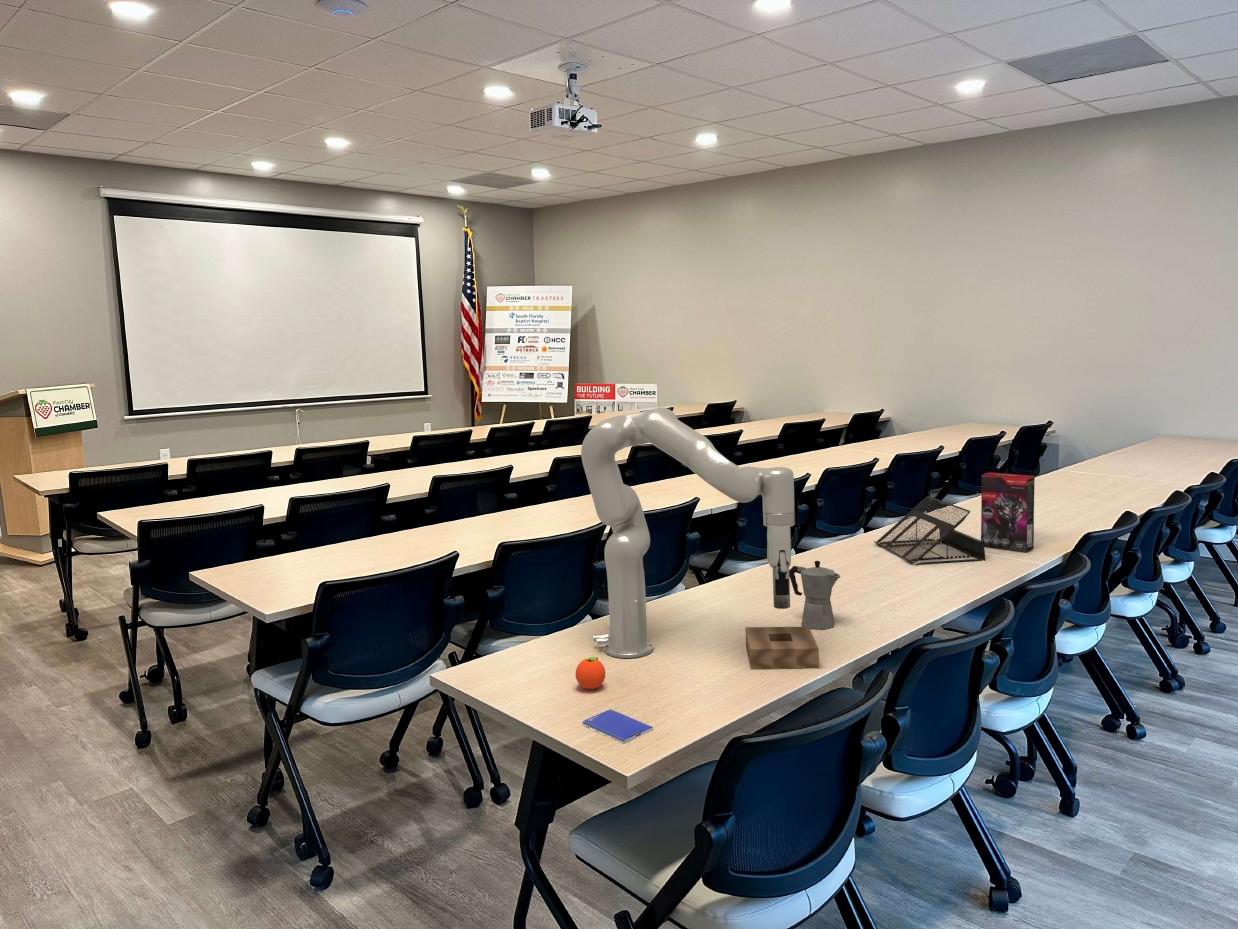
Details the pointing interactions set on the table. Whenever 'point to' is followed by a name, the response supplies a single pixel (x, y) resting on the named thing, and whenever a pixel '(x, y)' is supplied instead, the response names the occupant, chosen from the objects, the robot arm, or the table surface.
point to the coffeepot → (815, 595)
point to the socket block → (781, 648)
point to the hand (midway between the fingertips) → (781, 591)
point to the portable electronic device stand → (946, 536)
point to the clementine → (590, 673)
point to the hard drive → (617, 726)
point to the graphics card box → (1007, 511)
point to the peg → (780, 600)
